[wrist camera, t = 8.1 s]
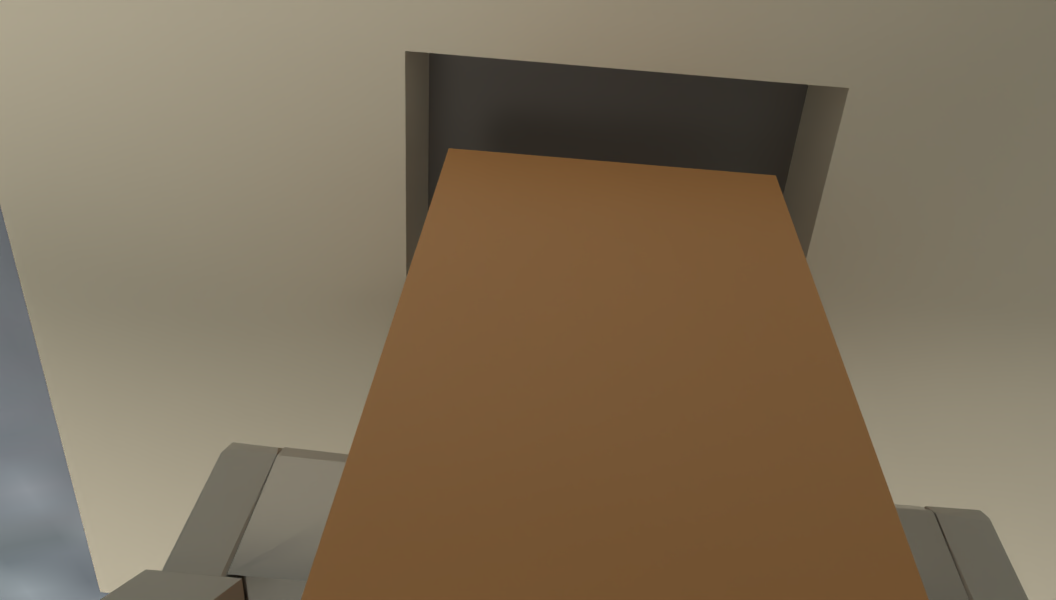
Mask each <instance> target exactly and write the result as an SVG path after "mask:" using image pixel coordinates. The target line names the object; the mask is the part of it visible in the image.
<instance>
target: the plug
mask: <svg viewBox="0 0 1056 600" xmlns="http://www.w3.org/2000/svg"><path fill="white" fill-rule="evenodd" d="M301 600H929V599H928V596H927V594H926V591H925V588H924V585H923V583H922V580H921V577H920V574H919V571H918V569H917V566H916V563H915V560H914V558H913V555H912V552H911V549H910V546H909V544H908V541H907V538H906V535H905V533H904V530H903V527H902V524H901V522H900V519H899V516H898V513H897V510H896V508H895V505H894V502H893V499H892V497H891V494H890V491H889V488H888V485H887V483H886V480H885V477H884V474H883V472H882V469H881V466H880V463H879V460H878V458H877V455H876V452H875V449H874V447H873V444H872V441H871V438H870V435H869V433H868V430H867V427H866V424H865V422H864V419H863V416H862V413H861V411H860V408H859V405H858V402H857V399H856V397H855V394H854V391H853V388H852V386H851V383H850V380H849V377H848V374H847V372H846V369H845V366H844V363H843V361H842V358H841V355H840V352H839V349H838V347H837V344H836V341H835V338H834V336H833V333H832V330H831V327H830V325H829V322H828V319H827V316H826V313H825V311H824V308H823V305H822V302H821V300H820V297H819V294H818V291H817V288H816V286H815V283H814V280H813V277H812V275H811V272H810V269H809V266H808V263H807V261H806V258H805V255H804V252H803V250H802V247H801V244H800V241H799V239H798V236H797V233H796V230H795V227H794V225H793V222H792V219H791V216H790V214H789V211H788V208H787V205H786V202H785V200H784V197H783V194H782V191H781V189H780V186H779V183H778V180H777V177H776V175H765V174H753V173H741V172H729V171H717V170H705V169H693V168H681V167H669V166H657V165H645V164H633V163H621V162H609V161H597V160H585V159H573V158H561V157H549V156H537V155H525V154H513V153H501V152H489V151H477V150H465V149H453V148H449V149H448V152H447V155H446V158H445V161H444V164H443V167H442V170H441V173H440V177H439V180H438V183H437V186H436V189H435V192H434V195H433V198H432V201H431V204H430V207H429V210H428V213H427V216H426V219H425V222H424V225H423V228H422V231H421V235H420V238H419V241H418V244H417V247H416V250H415V253H414V256H413V259H412V262H411V265H410V268H409V271H408V274H407V277H406V280H405V283H404V286H403V290H402V293H401V296H400V299H399V302H398V305H397V308H396V311H395V314H394V317H393V320H392V323H391V326H390V329H389V332H388V335H387V338H386V341H385V344H384V348H383V351H382V354H381V357H380V360H379V363H378V366H377V369H376V372H375V375H374V378H373V381H372V384H371V387H370V390H369V393H368V396H367V399H366V402H365V406H364V409H363V412H362V415H361V418H360V421H359V424H358V427H357V430H356V433H355V436H354V439H353V442H352V445H351V448H350V451H349V454H348V457H347V461H346V464H345V467H344V470H343V473H342V476H341V479H340V482H339V485H338V488H337V491H336V494H335V497H334V500H333V503H332V506H331V509H330V512H329V515H328V519H327V522H326V525H325V528H324V531H323V534H322V537H321V540H320V543H319V546H318V549H317V552H316V555H315V558H314V561H313V564H312V567H311V570H310V573H309V577H308V580H307V583H306V586H305V589H304V592H303V595H302V598H301Z"/></svg>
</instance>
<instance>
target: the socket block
mask: <svg viewBox="0 0 1056 600" xmlns="http://www.w3.org/2000/svg"><path fill="white" fill-rule="evenodd" d="M449 148H453V149H465V150H477V151H489V152H501V153H513V154H525V155H537V156H549V157H561V158H573V159H585V160H597V161H609V162H621V163H633V164H645V165H657V166H669V167H681V168H693V169H705V170H717V171H729V172H741V173H753V174H765V175H776V177H777V180H778V183H779V186H780V189H781V191H782V194H783V197H784V200H785V202H786V205H787V208H788V211H789V214H790V216H791V219H792V222H793V225H794V227H795V230H796V233H797V236H798V239H799V241H800V244H801V247H802V250H803V252H804V255H805V258H806V261H807V263H808V266H809V269H810V272H811V275H812V277H813V280H814V283H815V286H816V288H817V291H818V294H819V297H820V300H821V302H822V305H823V308H824V311H825V313H826V316H827V319H828V322H829V325H830V327H831V330H832V333H833V336H834V338H835V341H836V344H837V347H838V349H839V352H840V355H841V358H842V361H843V363H844V366H845V369H846V372H847V374H848V377H849V380H850V383H851V386H852V388H853V391H854V394H855V397H856V399H857V402H858V405H859V408H860V411H861V413H862V416H863V419H864V422H865V424H866V427H867V430H868V433H869V435H870V438H871V441H872V444H873V447H874V449H875V452H876V455H877V458H878V460H879V463H880V466H881V469H882V472H883V474H884V477H885V480H886V483H887V485H888V488H889V491H890V494H891V497H892V499H893V502H894V504H900V505H912V506H920V507H923V508H924V507H925V506H933V507H946V508H959V509H973V510H981V511H982V512H983V513H984V514H985V515H986V516H988V517H989V518H990V520H991V522H992V524H993V526H994V529H995V531H996V533H997V535H998V537H999V539H1000V541H1001V543H1002V545H1003V547H1004V549H1005V552H1006V554H1007V556H1008V558H1009V560H1010V562H1011V564H1012V566H1013V568H1014V570H1015V572H1016V574H1017V577H1018V579H1019V581H1020V583H1021V585H1022V587H1023V589H1024V591H1025V593H1026V595H1027V597H1028V599H1029V600H1056V0H0V206H1V209H2V213H3V217H4V221H5V225H6V229H7V233H8V236H9V240H10V244H11V248H12V252H13V256H14V260H15V264H16V267H17V271H18V275H19V279H20V283H21V287H22V291H23V294H24V298H25V302H26V306H27V310H28V314H29V318H30V322H31V325H32V329H33V333H34V337H35V341H36V345H37V349H38V352H39V356H40V360H41V364H42V368H43V372H44V376H45V380H46V383H47V387H48V391H49V395H50V399H51V403H52V407H53V411H54V414H55V418H56V422H57V426H58V430H59V434H60V438H61V441H62V445H63V449H64V453H65V457H66V461H67V465H68V469H69V472H70V476H71V480H72V484H73V488H74V492H75V496H76V499H77V503H78V507H79V511H80V515H81V519H82V523H83V527H84V530H85V534H86V538H87V542H88V546H89V550H90V554H91V557H92V561H93V565H94V569H95V573H96V577H97V581H98V585H99V588H100V592H105V593H111V592H112V591H114V590H115V589H117V588H118V587H120V586H121V585H123V584H124V583H126V582H127V581H129V580H130V579H132V578H133V577H135V576H136V575H138V574H139V573H141V572H142V571H144V570H145V569H147V570H161V571H162V569H163V567H164V565H165V563H166V561H167V559H168V557H169V555H170V553H171V551H172V549H173V547H174V545H175V543H176V541H177V539H178V537H179V535H180V533H181V531H182V529H183V527H184V525H185V523H186V521H187V519H188V517H189V515H190V513H191V511H192V509H193V507H194V505H195V504H196V502H197V500H198V498H199V496H200V494H201V492H202V490H203V488H204V486H205V484H206V482H207V480H208V478H209V476H210V474H211V472H212V470H213V468H214V466H215V464H216V462H217V460H218V458H219V456H220V454H221V452H222V451H223V450H224V449H226V448H227V447H228V446H229V445H230V444H231V443H232V442H236V443H244V444H253V445H261V446H269V447H277V448H284V447H288V448H297V449H306V450H314V451H323V452H332V453H341V454H349V451H350V448H351V445H352V442H353V439H354V436H355V433H356V430H357V427H358V424H359V421H360V418H361V415H362V412H363V409H364V406H365V402H366V399H367V396H368V393H369V390H370V387H371V384H372V381H373V378H374V375H375V372H376V369H377V366H378V363H379V360H380V357H381V354H382V351H383V348H384V344H385V341H386V338H387V335H388V332H389V329H390V326H391V323H392V320H393V317H394V314H395V311H396V308H397V305H398V302H399V299H400V296H401V293H402V290H403V286H404V283H405V280H406V277H407V274H408V271H409V268H410V265H411V262H412V259H413V256H414V253H415V250H416V247H417V244H418V241H419V238H420V235H421V231H422V228H423V225H424V222H425V219H426V216H427V213H428V210H429V207H430V204H431V201H432V198H433V195H434V192H435V189H436V186H437V183H438V180H439V177H440V173H441V170H442V167H443V164H444V161H445V158H446V155H447V152H448V149H449Z"/></svg>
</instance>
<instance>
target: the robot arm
mask: <svg viewBox="0 0 1056 600" xmlns="http://www.w3.org/2000/svg"><path fill="white" fill-rule="evenodd" d="M347 457H348V454H341V453H332V452H323V451H314V450H306V449H297V448H288V447H284V448H277V447H269V446H261V445H253V444H244V443H236V442H232V443H231V444H230V445H229V446H228V447H227V448H226V449H224V450H223V451H222V452H221V454H220V456H219V458H218V460H217V462H216V464H215V466H214V468H213V470H212V472H211V474H210V476H209V478H208V480H207V482H206V484H205V486H204V488H203V490H202V492H201V494H200V496H199V498H198V500H197V502H196V504H195V505H194V507H193V509H192V511H191V513H190V515H189V517H188V519H187V521H186V523H185V525H184V527H183V529H182V531H181V533H180V535H179V537H178V539H177V541H176V543H175V545H174V547H173V549H172V551H171V553H170V555H169V557H168V559H167V561H166V563H165V565H164V567H163V569H162V571H161V570H147V569H145V570H144V571H142V572H141V573H139V574H138V575H136V576H135V577H133V578H132V579H130V580H129V581H127V582H126V583H124V584H123V585H121V586H120V587H118V588H117V589H115V590H114V591H112V592H111V593H109V594H108V595H106V596H105V597H103V598H102V599H100V600H301V598H302V595H303V592H304V589H305V586H306V583H307V580H308V577H309V573H310V570H311V567H312V564H313V561H314V558H315V555H316V552H317V549H318V546H319V543H320V540H321V537H322V534H323V531H324V528H325V525H326V522H327V519H328V515H329V512H330V509H331V506H332V503H333V500H334V497H335V494H336V491H337V488H338V485H339V482H340V479H341V476H342V473H343V470H344V467H345V464H346V461H347ZM894 505H895V508H896V510H897V513H898V516H899V519H900V522H901V524H902V527H903V530H904V533H905V535H906V538H907V541H908V544H909V546H910V549H911V552H912V555H913V558H914V560H915V563H916V566H917V569H918V571H919V574H920V577H921V580H922V583H923V585H924V588H925V591H926V594H927V596H928V599H929V600H1029V599H1028V597H1027V595H1026V593H1025V591H1024V589H1023V587H1022V585H1021V583H1020V581H1019V579H1018V577H1017V574H1016V572H1015V570H1014V568H1013V566H1012V564H1011V562H1010V560H1009V558H1008V556H1007V554H1006V552H1005V549H1004V547H1003V545H1002V543H1001V541H1000V539H999V537H998V535H997V533H996V531H995V529H994V526H993V524H992V522H991V520H990V518H989V517H988V516H986V515H985V514H984V513H983V512H982V511H981V510H973V509H959V508H946V507H933V506H925V507H924V508H923V507H920V506H912V505H900V504H894Z"/></svg>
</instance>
